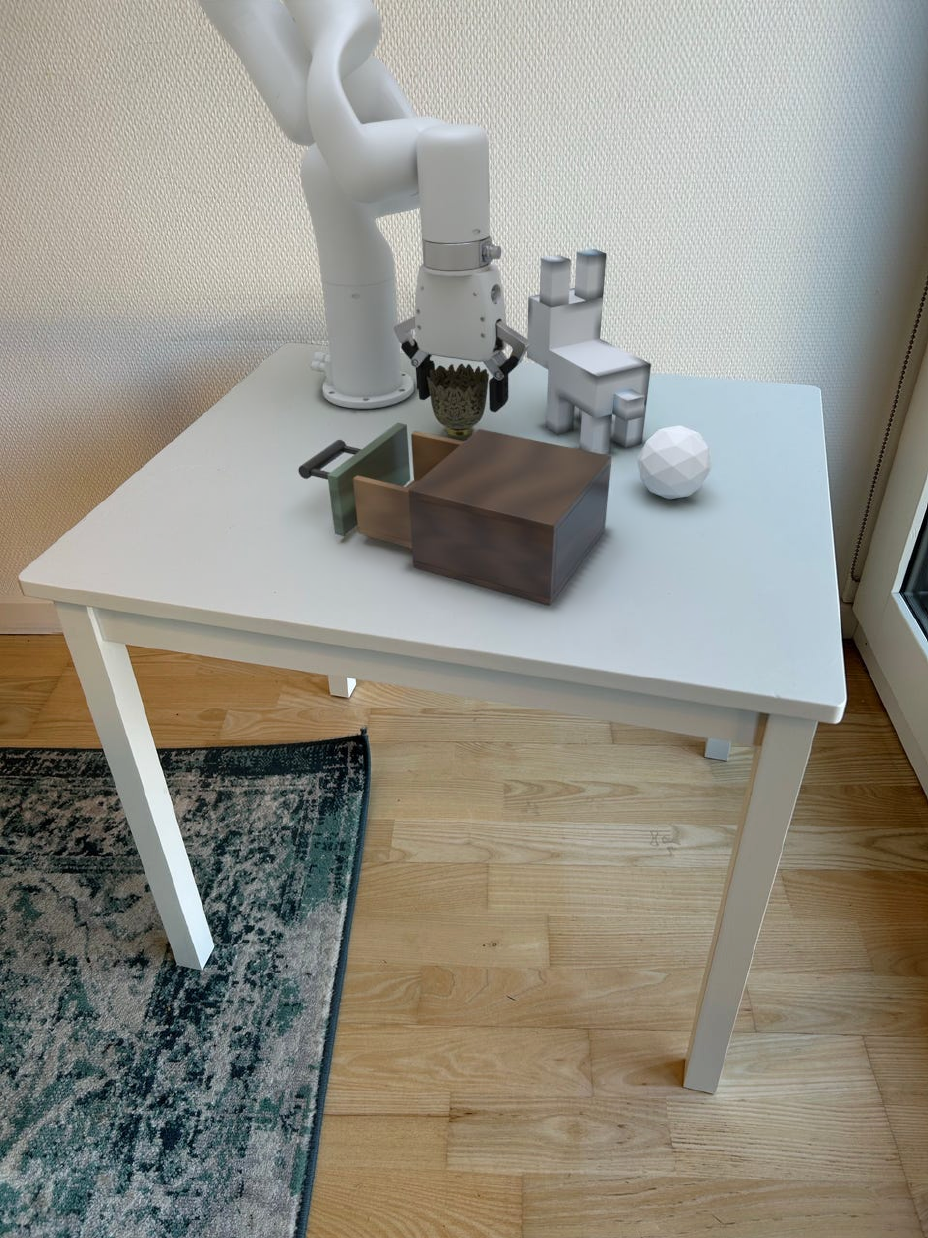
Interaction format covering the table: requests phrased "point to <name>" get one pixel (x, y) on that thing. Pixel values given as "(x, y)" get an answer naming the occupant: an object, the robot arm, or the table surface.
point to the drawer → (378, 481)
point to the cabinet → (510, 514)
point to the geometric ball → (674, 462)
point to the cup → (458, 398)
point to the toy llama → (584, 356)
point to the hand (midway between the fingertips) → (462, 401)
